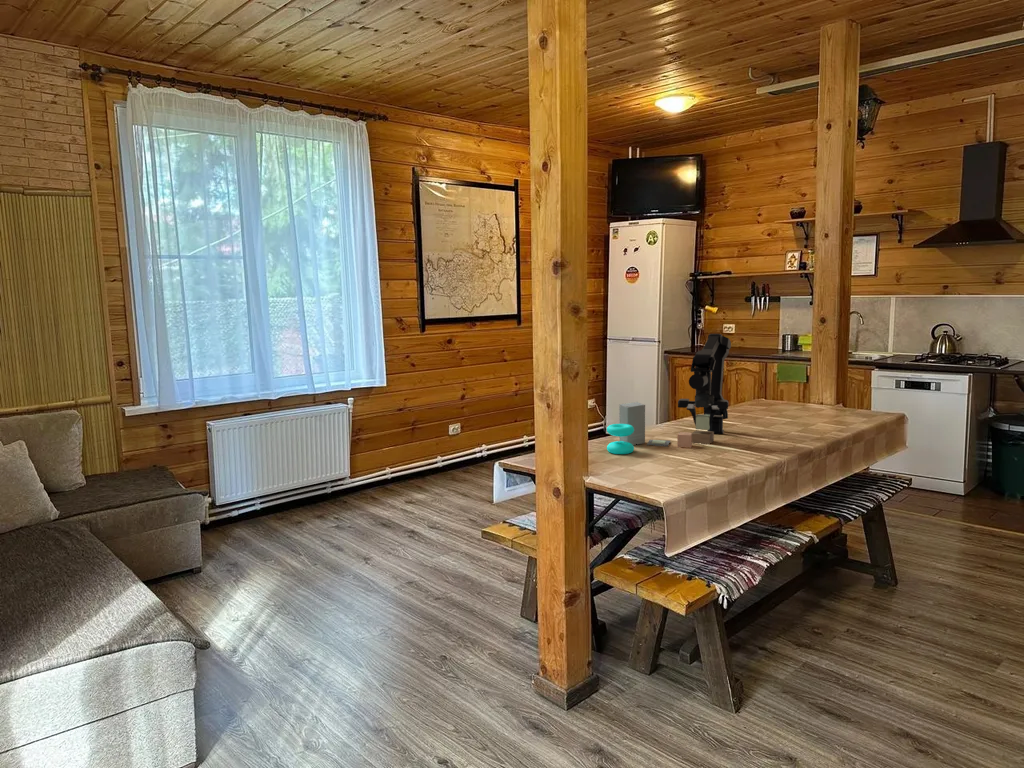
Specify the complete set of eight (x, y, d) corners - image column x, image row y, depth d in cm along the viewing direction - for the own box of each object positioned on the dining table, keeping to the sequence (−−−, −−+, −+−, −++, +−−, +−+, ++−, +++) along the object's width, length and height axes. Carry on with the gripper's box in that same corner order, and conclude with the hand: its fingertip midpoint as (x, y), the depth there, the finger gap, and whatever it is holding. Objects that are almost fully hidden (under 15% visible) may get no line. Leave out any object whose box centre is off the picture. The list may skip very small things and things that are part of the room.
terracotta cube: (678, 444, 273) (678, 432, 272) (691, 445, 271) (692, 432, 271) (677, 447, 268) (677, 434, 268) (690, 448, 267) (691, 435, 266)
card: (649, 441, 280) (649, 439, 280) (670, 442, 277) (670, 440, 277) (646, 445, 272) (646, 443, 272) (668, 446, 270) (668, 444, 270)
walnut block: (695, 440, 281) (696, 430, 281) (713, 441, 278) (713, 431, 277) (691, 443, 275) (691, 433, 275) (709, 445, 272) (709, 435, 271)
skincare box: (636, 440, 281) (636, 401, 279) (646, 444, 274) (646, 404, 272) (618, 443, 278) (618, 403, 276) (627, 446, 271) (627, 405, 269)
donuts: (602, 426, 260) (613, 422, 268) (602, 453, 261) (613, 448, 269) (628, 429, 255) (638, 424, 263) (628, 456, 256) (637, 450, 264)
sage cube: (696, 426, 279) (696, 414, 278) (709, 427, 277) (709, 414, 276) (695, 429, 274) (695, 416, 273) (709, 429, 272) (709, 417, 272)
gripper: (676, 388, 269) (676, 428, 271) (727, 389, 263) (727, 430, 265) (679, 384, 279) (678, 423, 281) (728, 385, 273) (728, 425, 275)
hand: (702, 425), depth 275 cm, fingers closed on sage cube, 5 cm apart
